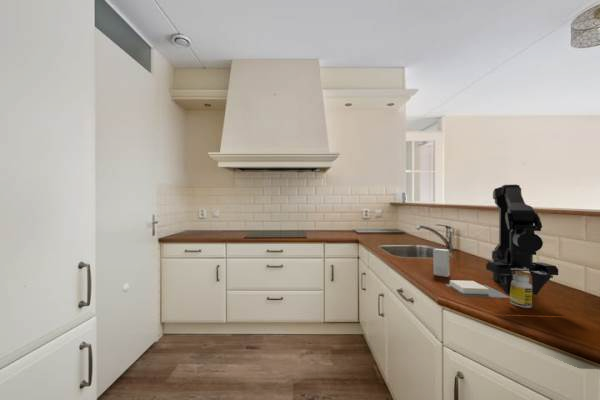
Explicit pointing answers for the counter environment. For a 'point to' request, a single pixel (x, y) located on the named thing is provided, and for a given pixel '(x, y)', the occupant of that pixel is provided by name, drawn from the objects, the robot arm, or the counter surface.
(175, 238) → the counter surface
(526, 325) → the counter surface
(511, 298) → the supplement bottle
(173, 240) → the counter surface
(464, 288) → the tile
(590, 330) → the counter surface
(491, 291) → the mat
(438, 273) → the skincare box
